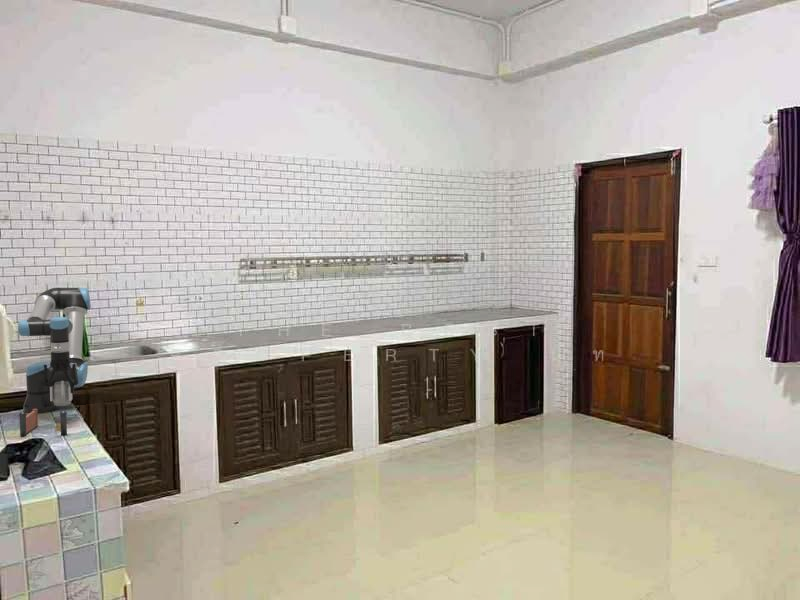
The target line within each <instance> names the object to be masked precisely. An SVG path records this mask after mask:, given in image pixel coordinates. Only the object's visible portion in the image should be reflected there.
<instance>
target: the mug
mask: <svg viewBox="0 0 800 600" xmlns="http://www.w3.org/2000/svg"><path fill="white" fill-rule="evenodd" d="M69 386H70V384H69V382H64V381H61V382H57V383H54V390H53V391H54V400H53V402H54V405H56V406H58V407H59V406H63V407H64V406H68V405H71V404H72V400H73V399H72V400H71V401H69V391H68V387H69Z"/></svg>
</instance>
